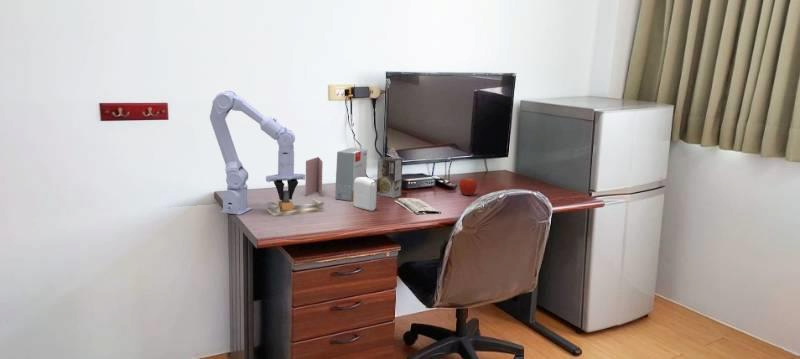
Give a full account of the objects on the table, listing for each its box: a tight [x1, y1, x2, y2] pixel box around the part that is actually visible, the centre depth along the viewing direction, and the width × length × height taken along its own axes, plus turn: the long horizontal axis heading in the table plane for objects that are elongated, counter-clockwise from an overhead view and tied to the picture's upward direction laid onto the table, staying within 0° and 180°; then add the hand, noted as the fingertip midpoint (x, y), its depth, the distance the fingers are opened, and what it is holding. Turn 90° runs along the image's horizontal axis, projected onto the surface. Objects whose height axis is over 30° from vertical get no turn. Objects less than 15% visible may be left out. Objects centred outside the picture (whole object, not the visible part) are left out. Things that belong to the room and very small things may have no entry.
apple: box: [459, 178, 478, 196], centre depth 281 cm, size 8×8×8 cm
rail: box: [266, 198, 325, 217], centre depth 239 cm, size 20×7×4 cm, turn 121°
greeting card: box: [304, 156, 324, 198], centre depth 267 cm, size 11×7×15 cm, turn 161°
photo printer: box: [352, 176, 377, 211], centre depth 248 cm, size 10×4×12 cm, turn 47°
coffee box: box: [376, 156, 403, 198], centre depth 272 cm, size 9×6×16 cm
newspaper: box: [394, 197, 442, 215], centre depth 254 cm, size 23×12×2 cm, turn 20°
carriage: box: [277, 190, 294, 211], centre depth 236 cm, size 4×4×7 cm
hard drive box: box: [334, 147, 368, 202], centre depth 265 cm, size 16×8×20 cm, turn 161°
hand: (285, 199), depth 236 cm, fingers closed on carriage, 3 cm apart
